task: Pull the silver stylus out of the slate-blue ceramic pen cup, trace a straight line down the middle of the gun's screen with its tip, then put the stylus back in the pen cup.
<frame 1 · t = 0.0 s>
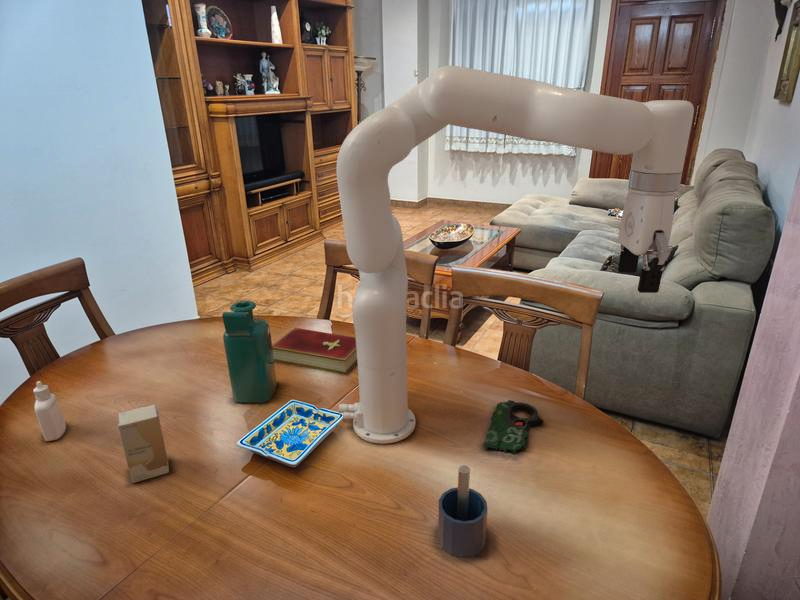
hand: (636, 281, 89), 31 cm above the table, tool pointing down, fingers open, 9 cm apart
stylus: (461, 537, 77), resting on pen cup
gun: (514, 431, 101), on the table
eye dropper bottle: (56, 434, 103), on the table
pen cup: (461, 540, 77), on the table
green bottle: (255, 395, 115), on the table
cosmetic box: (151, 471, 92), on the table
hardcover book: (319, 356, 131), on the table
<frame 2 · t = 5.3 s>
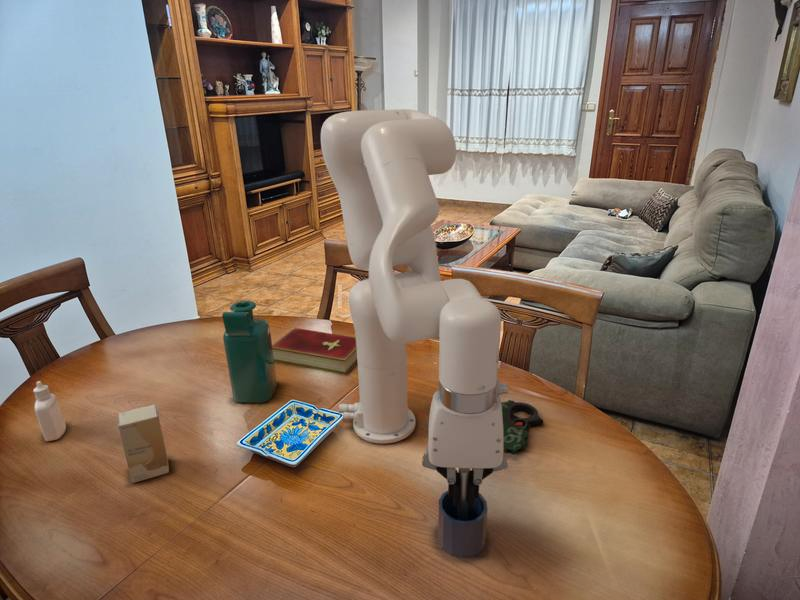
hand: (463, 499, 74), 8 cm above the table, tool pointing down, fingers closed on stylus, 1 cm apart
stylus: (461, 537, 77), point 1 cm above the table, touching gripper, pen cup
everything else where it was.
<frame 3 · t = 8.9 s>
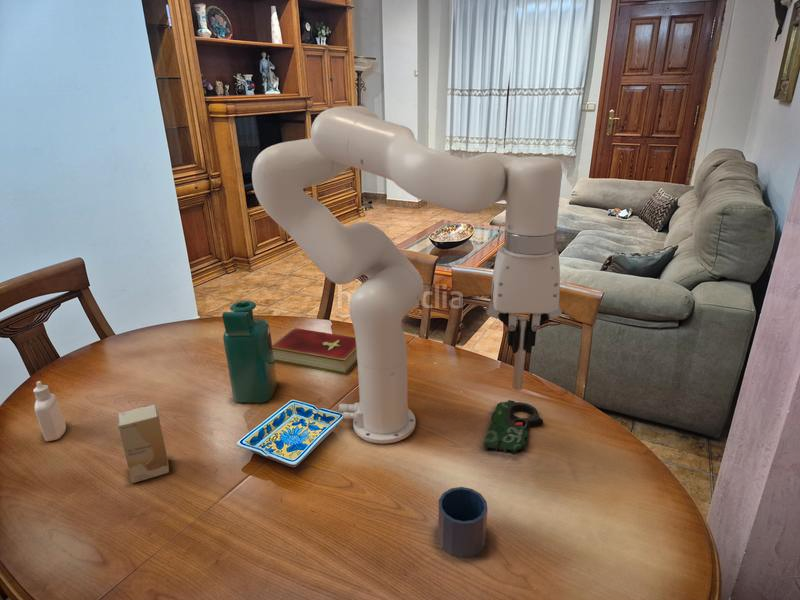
hand: (520, 348, 84), 23 cm above the table, tool pointing down, fingers closed on stylus, 1 cm apart
stylus: (517, 387, 87), point 15 cm above the table, touching gripper
everything else where it was.
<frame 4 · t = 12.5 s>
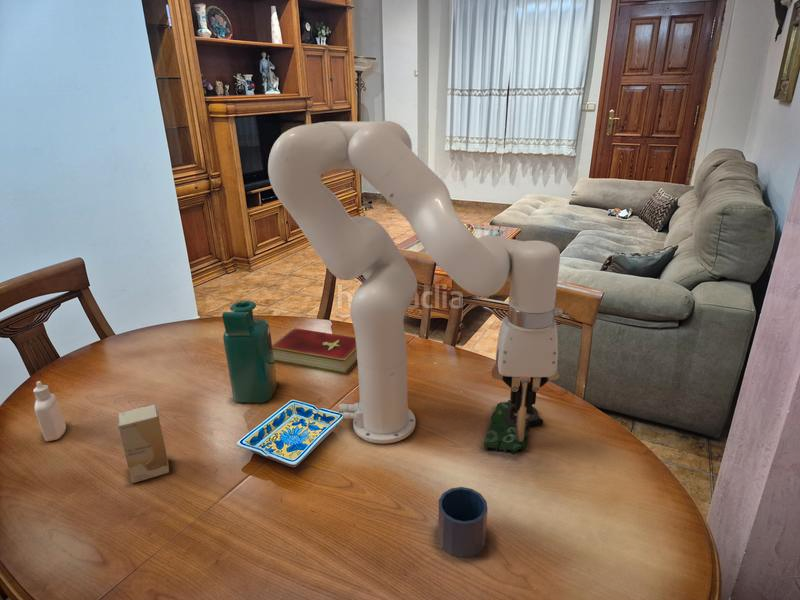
hand: (522, 406, 93), 9 cm above the table, tool pointing down, fingers closed on stylus, 1 cm apart
stylus: (519, 439, 96), point 2 cm above the table, touching gripper
everything else where it was.
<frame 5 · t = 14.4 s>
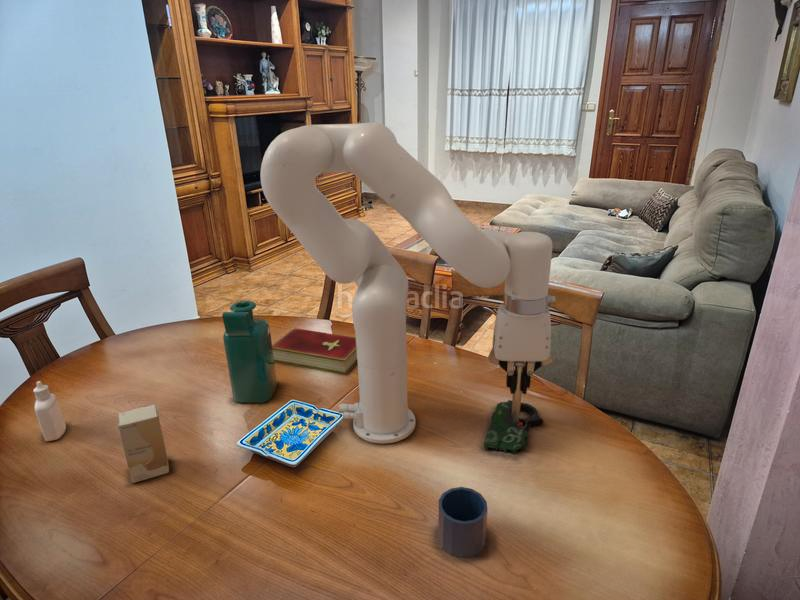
hand: (517, 389, 98), 9 cm above the table, tool pointing down, fingers closed on stylus, 1 cm apart
stylus: (514, 422, 101), point 2 cm above the table, touching gripper
everything else where it was.
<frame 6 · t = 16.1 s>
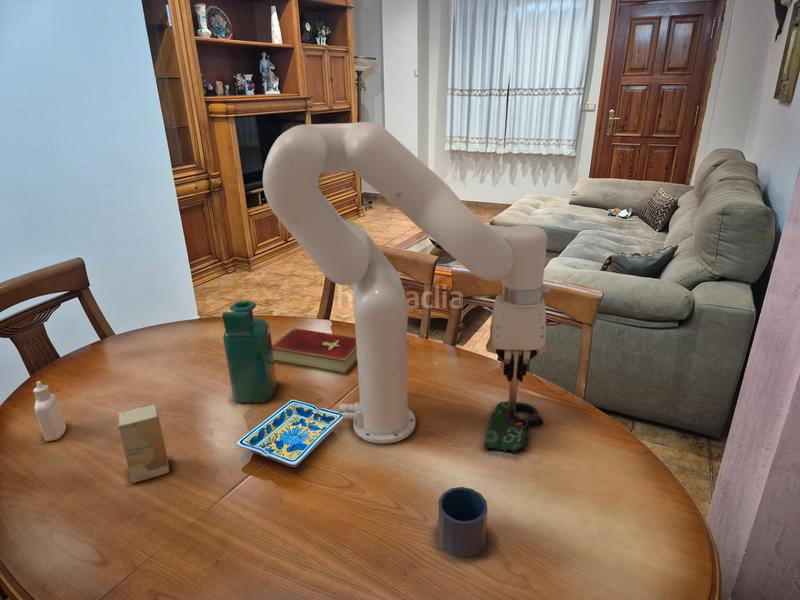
hand: (514, 377, 102), 9 cm above the table, tool pointing down, fingers closed on stylus, 1 cm apart
stylus: (511, 409, 105), point 2 cm above the table, touching gripper
everything else where it was.
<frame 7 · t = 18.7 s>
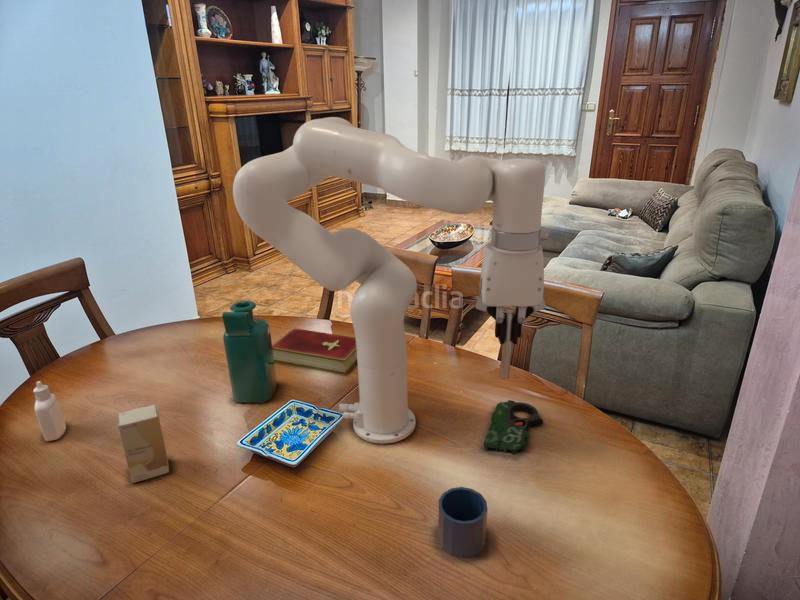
hand: (507, 340, 89), 22 cm above the table, tool pointing down, fingers closed on stylus, 1 cm apart
stylus: (504, 377, 92), point 14 cm above the table, touching gripper
everything else where it was.
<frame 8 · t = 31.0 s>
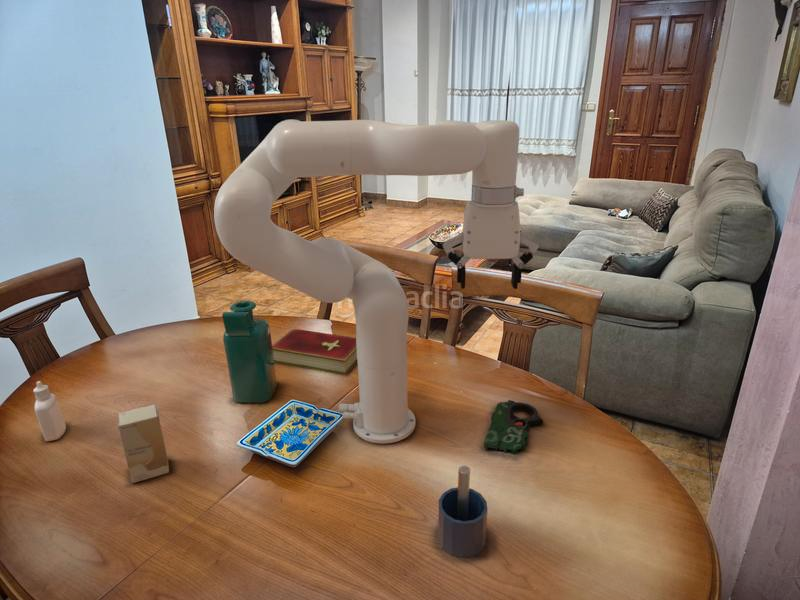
hand: (488, 286, 96), 28 cm above the table, tool pointing down, fingers open, 9 cm apart
stylus: (461, 538, 77), resting on pen cup
everything else where it was.
at the end: stylus 0.1 cm off-centre in the pen cup, point 0.5 cm above the pen cup's base; the gripper is holding nothing; gun moved 0.2 cm from its start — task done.
